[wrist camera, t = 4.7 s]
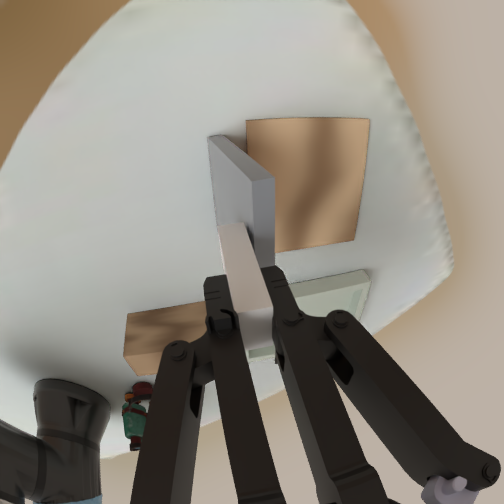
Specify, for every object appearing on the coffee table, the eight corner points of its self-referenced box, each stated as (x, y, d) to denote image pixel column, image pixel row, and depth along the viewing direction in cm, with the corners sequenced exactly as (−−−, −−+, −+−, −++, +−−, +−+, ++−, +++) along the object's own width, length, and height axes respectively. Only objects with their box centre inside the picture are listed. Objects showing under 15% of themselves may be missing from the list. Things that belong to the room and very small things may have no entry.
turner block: (139, 334, 33) (137, 376, 28) (127, 313, 30) (123, 356, 26) (218, 321, 34) (226, 363, 29) (213, 298, 32) (220, 342, 27)
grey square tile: (218, 233, 27) (257, 311, 19) (207, 137, 21) (251, 181, 14) (232, 230, 27) (276, 305, 19) (224, 134, 21) (277, 176, 14)
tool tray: (239, 350, 38) (242, 364, 36) (231, 294, 32) (234, 309, 30) (347, 326, 40) (353, 337, 39) (363, 269, 34) (371, 281, 32)
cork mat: (252, 254, 29) (253, 256, 29) (245, 120, 21) (246, 121, 21) (352, 238, 30) (353, 240, 30) (367, 118, 23) (369, 119, 22)
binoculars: (199, 440, 34) (169, 460, 37) (188, 382, 42) (162, 409, 45) (140, 430, 29) (117, 452, 32) (137, 368, 38) (116, 397, 41)
